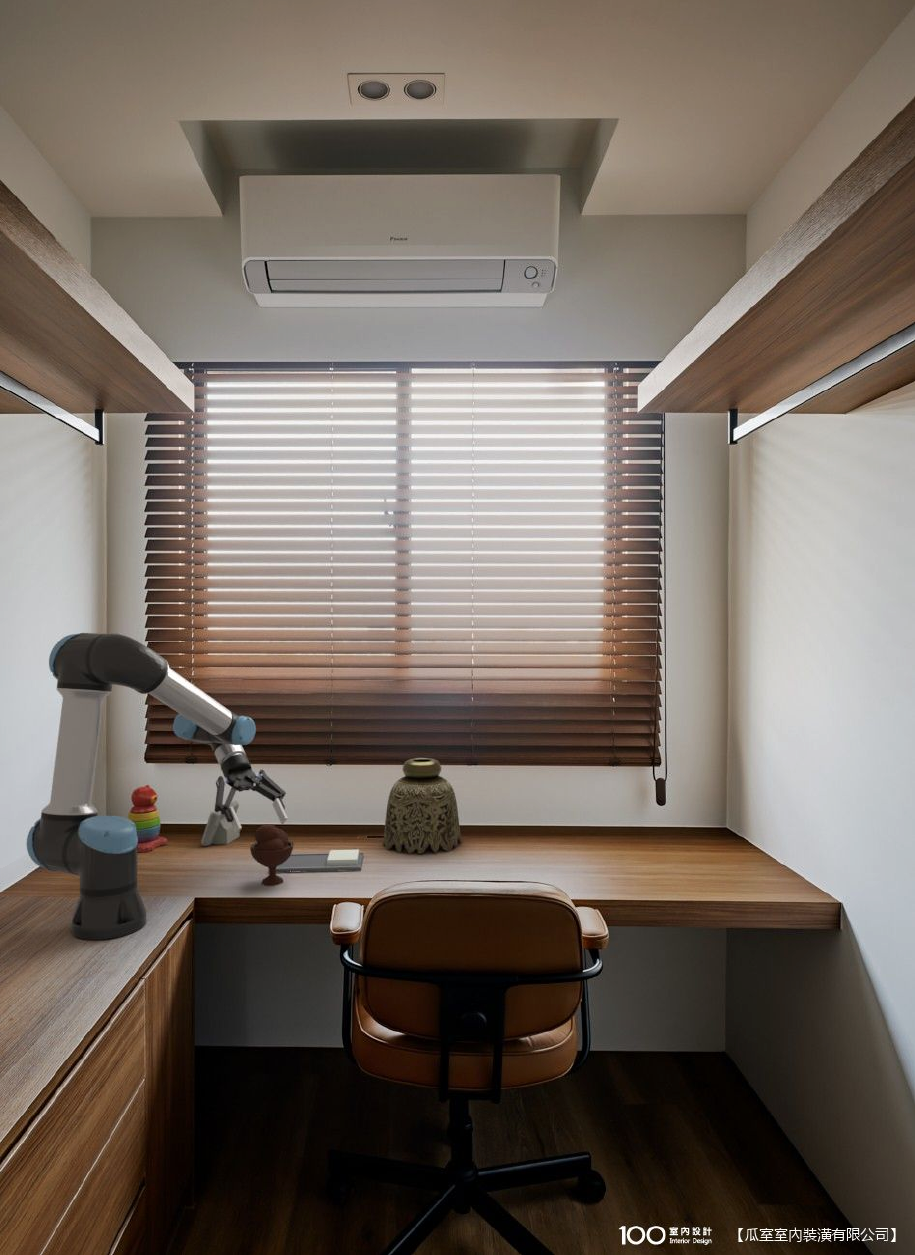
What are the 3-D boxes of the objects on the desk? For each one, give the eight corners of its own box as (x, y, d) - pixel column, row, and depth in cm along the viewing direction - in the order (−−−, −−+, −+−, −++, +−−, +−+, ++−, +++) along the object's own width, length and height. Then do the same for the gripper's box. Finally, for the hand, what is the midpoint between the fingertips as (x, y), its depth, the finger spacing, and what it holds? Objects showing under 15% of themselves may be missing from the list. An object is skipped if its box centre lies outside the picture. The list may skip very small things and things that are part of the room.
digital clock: (225, 832, 253) (225, 798, 253) (250, 835, 250) (249, 800, 250) (191, 846, 238) (191, 810, 238) (217, 849, 235) (216, 813, 235)
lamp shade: (454, 856, 227) (453, 768, 226) (374, 853, 230) (374, 766, 230) (466, 834, 250) (465, 754, 249) (394, 831, 253) (393, 752, 253)
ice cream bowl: (284, 890, 199) (283, 830, 199) (242, 887, 202) (242, 828, 201) (301, 876, 210) (300, 819, 209) (261, 874, 212) (260, 817, 212)
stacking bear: (146, 853, 231) (145, 791, 231) (117, 850, 234) (117, 789, 234) (171, 843, 241) (170, 784, 241) (143, 840, 245) (142, 781, 244)
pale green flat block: (327, 866, 215) (327, 860, 215) (330, 855, 225) (330, 849, 225) (357, 865, 216) (357, 859, 216) (359, 854, 226) (359, 848, 226)
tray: (269, 872, 213) (269, 868, 213) (277, 858, 226) (277, 854, 226) (360, 870, 215) (360, 866, 214) (363, 856, 227) (363, 852, 227)
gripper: (268, 763, 232) (297, 825, 222) (185, 776, 215) (213, 843, 204) (277, 747, 228) (308, 809, 218) (194, 758, 211) (223, 827, 200)
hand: (262, 826), depth 211 cm, fingers open, 13 cm apart
